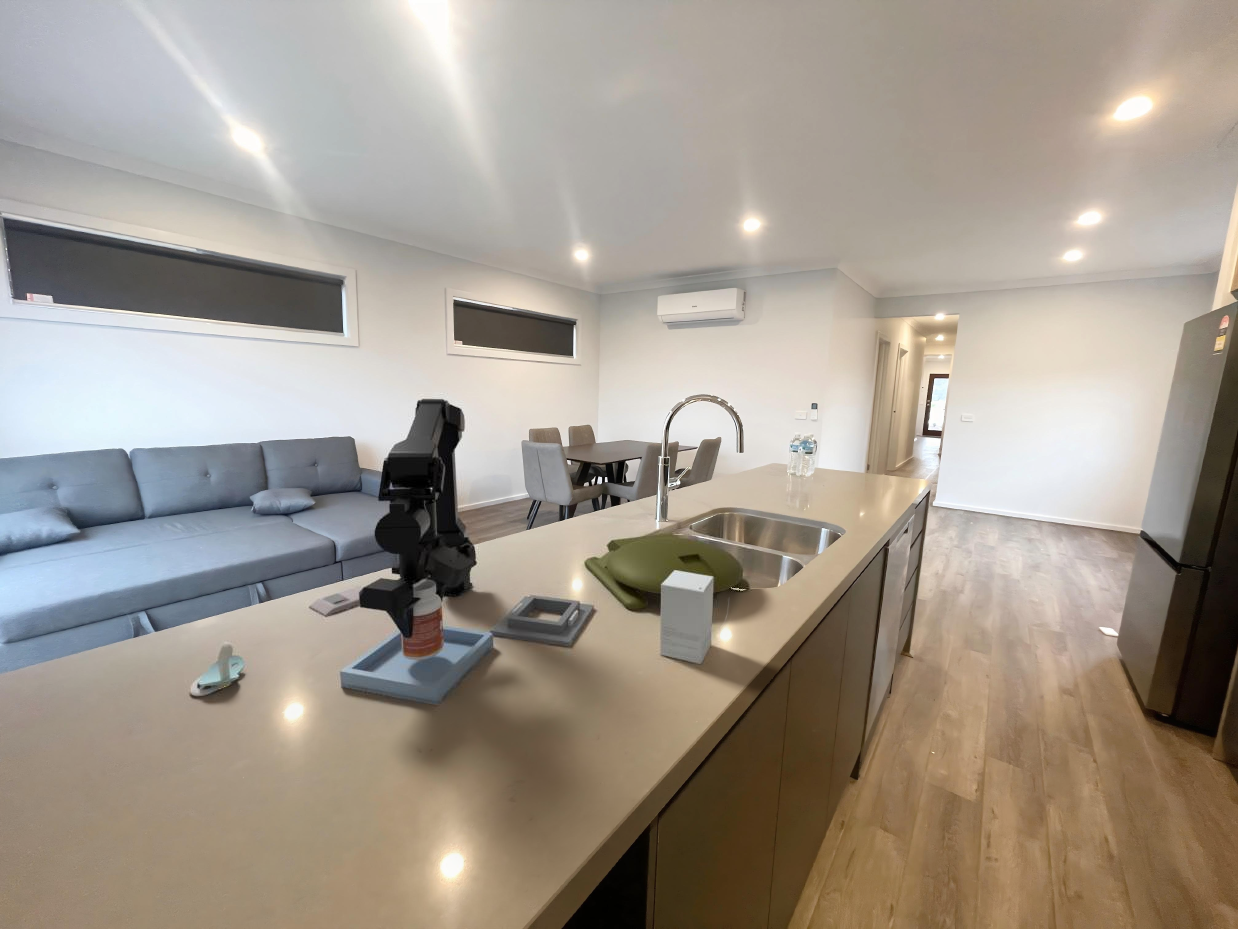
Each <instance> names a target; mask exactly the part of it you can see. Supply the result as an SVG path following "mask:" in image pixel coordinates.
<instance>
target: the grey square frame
mask: <svg viewBox="0 0 1238 929" xmlns="http://www.w3.org/2000/svg"><path fill="white" fill-rule="evenodd" d="M535 610H536V611H545V612H551V613H559V614H562V615H561V616H560V618H559V619H558V620H557V621H555V620H548V619H541V618H533V617H529V615H531V613H532V612H533V611H535ZM594 610H595V605H594V604H589V603H582V602H581V601H580V600H575V599H574V600H573V599H565V598H557V597H551V596H542V595H535V594H534V595H533V594H530V595H529V596H524V597H523V598H522V599H521V600H519V602H518V603H516V605H515V606H514V607H512V609H511V610H510V611H508V612H507V614H505V615H504V617H503V618H501V620H499V621H498V622H497V623H496V624H495V625H494V626H493V627H492V628H491V629H490V631H489V633H493V637H494V636H496V637H500V638H501V637H502V638H509V639H514V640H515V639H517V640H522V641H523V640H524V641H530V642H535V643H541V644H550V645H556V646H563V647H568V648H569V647H570V646H571V645H572V643H573V642H574V640H575V639H576V637H577V636H578V634H579V632H581V630H582V628H583V626H584V625H585V624H586V622H587V621H588V619H589V618H590V616H592V615H591V614H592V613H593V611H594Z"/></svg>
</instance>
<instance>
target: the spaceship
mask: <svg viewBox="0 0 1238 929" xmlns="http://www.w3.org/2000/svg"><path fill="white" fill-rule="evenodd" d="M606 547H607V550H608V552H607V553H605V554H603V556H601V557H597V556H595V557H594V556H592V557H588V558H587V559H586V560H584V562H583V564H584V566H585V568H586V569H588V571H590V573H592V575H594V577H595V578H596V579H597V580H598V581H599V582H600V583H602V585H603V586H604V587H605V588H606V589H607V590H608V591H609V592H610V593H611V595H613V596H614V597H615V598H616V600H618V601H619V602H620V603H621V604H622V605H623V606H624V607H625V608H626V609H627V610H631V611H640V610H644V609H645V608H646V607H647V606H648V600H647V597H645V596H644V595H643V594H641V592H640V591H643V592H644V591H645V592H649V593H654V594H660V595H661V584H662V583H663V582H664V581H665V580H666V579H667V578H668V577H669V576H670V575H671V574H672V572H673V571H674V570H677V571H683V572H688V573H694V574H700V575H706V576H713V577H714V581H713V594H715V593H719V592H720V593H721V592H724V591H726V590H730V588H731V587H732V588H739V589H747V590H749V588H750V583H749V582H748V581H747V580H746V579H744V578H743V576H744V570H743V569H744V568H742V565H741V563H740V561H739V560H738V559H737V558H736V557H735V556H734V555H732V554H731V553H730V552H729V551H727V550H725V549H723V548H721V547H718V546H716V545H714V544H712V543H709V542H706V541H702V540H697V539H694V538H693V539H692V538H687V537H686V538H685V537H680V536H677V535H676V534H675V533H661V534H653V535H644V536H637V537H625V538H618V539H612V540H610V541H609V542H608V543H607V544H606ZM639 590H640V591H639ZM738 592H741V591H740V590H739V591H738Z"/></svg>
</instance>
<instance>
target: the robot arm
mask: <svg viewBox="0 0 1238 929" xmlns="http://www.w3.org/2000/svg"><path fill="white" fill-rule="evenodd" d="M465 420H466V419H465V414H464V412H463V410H462V408H461V407H458V406H455V405H453V404H451V403H450V402H449V401H448V400H446V399H443V398H422V399H418V400H417V402H416V407H415V413H414V418H413V420H412V423H411V427H410V429H409V432H408V433H407V437H406V439H404V440H402V441H399V442H398V443H395V444H394V445H393V446H392V448H391V449H390V451H388V452H389V453H388V455H387V457H385V458H384V460H383V463H382V471H381V475H380V483H379V489H378V496H377V498H378V499H377V500H378V502H389V504H388V508H389V511H387V512H386V513H385V514H384V515H383V516H382V517H381V518H380V519H378V522H377V523H376V526H375V529H374V538H375V541H376V543H377V544H378V546H379V547H380V548H381V549H382V550H384V551H385V552H387V553H390V554H394V555H396V556H397V564H396V565H393V566H391V574H393V575H399V578H398V579H391V578H383V577H381V578H379V579H377V580H375V581H373V582H371V583H369V584H368V585H367V584H366V585H365V586H363V587H364V588H363V589H362V590H361V591H360V592H359V603H360V604H359V608H362V609H370V610H375V611H376V610H377V611H382V612H383V611H384V612H386V613H387V615H388V616H389V617H390V618H391V620H392V622H393V623H394V624H395V625H396V627H397V629H398V630H400V632H401V633H402V635H403V636H404V637H405V638H411V637H412V631H413V608H414V606H415V605H416V604H417V603H418V602H419V600H420V599H421V598H417V597H413V596H414V593H413V590H414V586H415V585H417V584H419V583H420V582H422V581H424V580H425V579H426V580H433V581H434V582H435V583H436V593H435V594H437V595H438V596H439V597H440V598H441V602H442V603H443V599H444V596H450V597H459V596H460V595H461V594H463V593H465V591H466V590H468V589H469V588H471V587H472V586H473V582H471V572H472V569H473V568H474V567H475V566H477V564H478V562H477V556H476V548H475V545H474V544H473V542H472V541H471V537H470V536H468V532H467V526H466V524H465V523H464V522H463V520H462V519H461V518H460V517H459V511H458V510H459V508H458V489H457V487H458V486H457V471H456V469H457V468H456V452H455V451H456V449H457V447H458V445H459V442H460V441H461V440H462V437H463V433H464V432H465V429H466V428H465V427H466V426H465V425H466V423H465V422H466V421H465Z"/></svg>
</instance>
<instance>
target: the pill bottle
mask: <svg viewBox="0 0 1238 929" xmlns="http://www.w3.org/2000/svg"><path fill="white" fill-rule="evenodd" d="M413 593H414V596H413V597H417V598H421V599H420V600H419V602H418V603H417V604H416V605H415V606H414V608H413V631H412V637H411V638H405V637H404V636H403V635H402V633H401V648H402V654H403V656H404V657H405V658H407V659H410V660H425V659H428V658H431V657H433V656H435V655H437V654H438V653H439V652H440V651H441V650H442V649H443V646H444V639H443V626H444V624H443V604H442V603H443V601H442V602H441V598H440V597H439V596H438V595H437V594H435V593H436V583H435V582H434V581H433V580H426V579H425V580H424V581H422V582H420V583H419V584H417V585H415V586H414V590H413Z"/></svg>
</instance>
